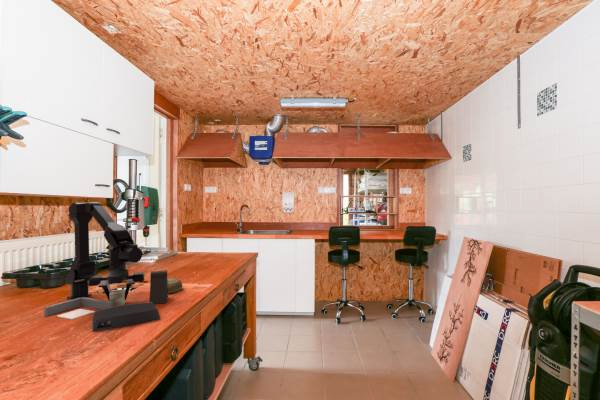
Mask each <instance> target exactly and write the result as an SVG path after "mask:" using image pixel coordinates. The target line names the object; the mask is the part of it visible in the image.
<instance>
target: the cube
mask: <svg viewBox="0 0 600 400" xmlns="http://www.w3.org/2000/svg"><path fill="white" fill-rule="evenodd" d="M125 291H126V288H125V289H124V288H123V289H114V290H113V289H112V290H110V294H109V300H108V301H111V302H113V307H116V306H122V305H126V301H127V299H126V300H125Z"/></svg>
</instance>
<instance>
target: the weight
mask: <svg viewBox="0 0 600 400" xmlns="http://www.w3.org/2000/svg"><path fill="white" fill-rule="evenodd" d="M167 281H168V294H173V293H176V292H179V291H181V290H182V289H183V282H182V281H181V279H179V278H175V277H167Z"/></svg>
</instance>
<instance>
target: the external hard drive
mask: <svg viewBox="0 0 600 400" xmlns="http://www.w3.org/2000/svg"><path fill="white" fill-rule="evenodd" d="M159 320H161V315H160V312H159V310H158V308H157V307H156V304H153V303H152V302H139V303H138V302H137V303H130V304H129V303H128V304H124V305H121V306H113V307H111V308H106V309H102V310H101V309H97V310H96V311H95V312H94V313H93V317H92V320H91V321H92V322H91V323H92V326H91V327H92V329H91V330H92V333H95V332H100V331H101V332H102V331H107V330H113V329H114V328H115V329H120V328H124V327H130V326H134V325H135V326H136V325H140V324H145V323H150V322H154V321H159Z"/></svg>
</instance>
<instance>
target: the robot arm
mask: <svg viewBox="0 0 600 400" xmlns="http://www.w3.org/2000/svg"><path fill="white" fill-rule="evenodd" d="M67 210H68V214H69V219H70V220H71V221H72V223H73V224H74V259H73V261H72V263H71V264H70V267H69V269H70V270H69V271H68V274H67V275H66V276H65V278H64V282H65V284H66V285H70V295H68V296H66V298H67V299H71V300H73V299H77V298H81V297H85V298H88V297H90V296H92V293H89V287H96V286H97V287H98V288H101V289H102V290H103V291H104V293H105V295H106V297H107V301H109V294H110V291H111V285H114V284H123V282H124V281H127V282H126V283H125V284H126V285H125V289H126V291H125V300H126V301H127V298H128V296H129V292H130V289H131V287H132V285H135V284H136V283H139V282H141V283H142V282H145V277H146V274H145V272H144V271H138V272H137V271H136V272H133V273H132V274H130V271H129V270H130V269H128V268H127V263H135V264H136V263H138V262H140V261H141V260H142V257H143V252H142V250H141V249H140V248H139V246H138V244H135V242H134V240H133V237H132V236H131V234H130V231H129V229H127V228H126V227H125V226H124V225H122V224H119V223H117V222H116V221H115V220H114V219H113V217H112V216H111V215H110V214H109V213H108V212H107V210H106V209H105V208H104V205H103V203H101V202H98V201H97V202H96V201H90V202H72V203H71V205H69V206H68V209H67ZM92 219H94V220H95V221H96V222H97V224H98V225H99V226H100V227H101V228H102V230H103V231H104V233H103V236H104V238H105V240H106V242H107V243H108V245H107V246H106V247H105V249H106V250H109V251H108V252H109V255H108V257H109V259H108V260H109V262H108V263H109V265H108V267H109V269H108V272H107V276H103V275H102V274H99V275H96V274H95V272H96V262H95V261H94V260H92V259H91V258H90V231H89V229H90V227H89V225H90V224H89V223H90V222H91V221H92Z"/></svg>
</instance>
